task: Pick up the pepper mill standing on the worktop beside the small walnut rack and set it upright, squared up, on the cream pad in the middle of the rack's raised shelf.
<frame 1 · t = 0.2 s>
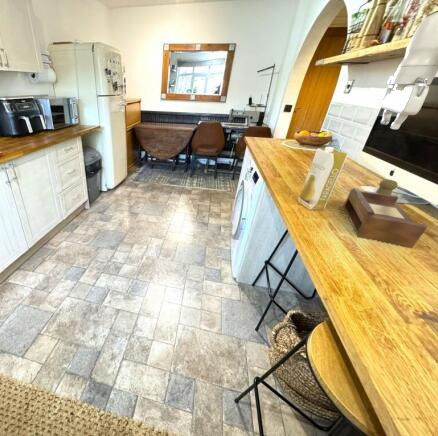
hand: (388, 126, 79), 32 cm above the counter, tool pointing down, fingers open, 8 cm apart
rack: (372, 224, 86), on the counter
juice carton: (310, 206, 99), on the counter
pepper mill: (376, 205, 100), on the counter
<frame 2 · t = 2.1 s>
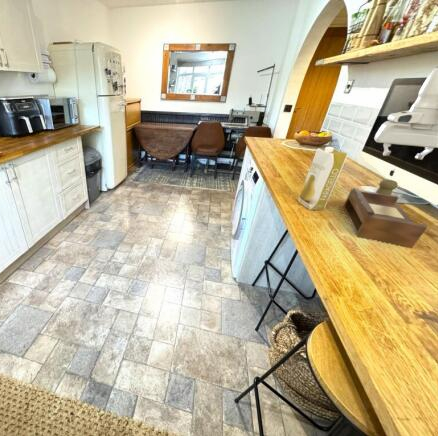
hand: (401, 157, 89), 20 cm above the counter, tool pointing down, fingers open, 8 cm apart
nothing on the counter moved.
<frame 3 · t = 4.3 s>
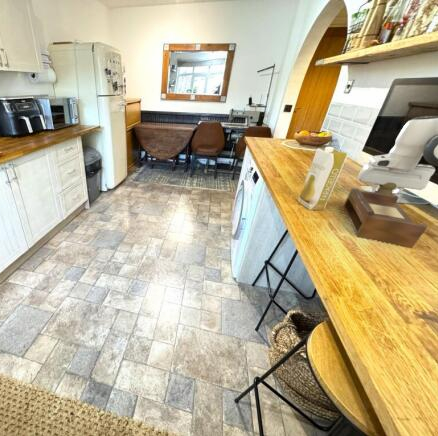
hand: (382, 195, 97), 5 cm above the counter, tool pointing down, fingers closed on pepper mill, 4 cm apart
pepper mill: (376, 205, 100), on the counter, touching gripper
everything else where it was.
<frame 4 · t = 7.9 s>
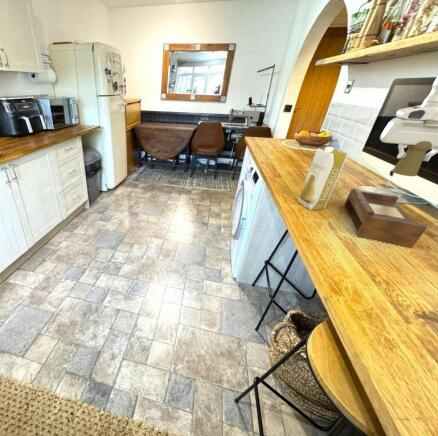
hand: (411, 159, 77), 23 cm above the counter, tool pointing down, fingers closed on pepper mill, 4 cm apart
pepper mill: (403, 173, 79), point 18 cm above the counter, touching gripper
everything else where it was.
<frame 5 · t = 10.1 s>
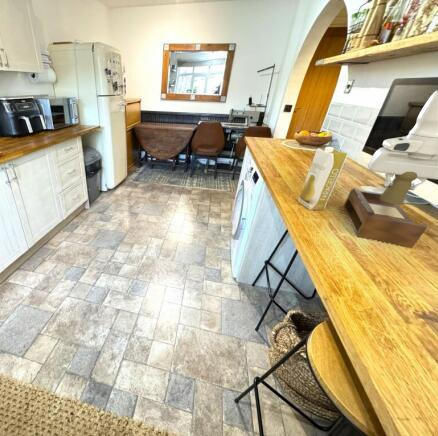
hand: (398, 187, 78), 15 cm above the counter, tool pointing down, fingers closed on pepper mill, 4 cm apart
pepper mill: (390, 200, 81), point 10 cm above the counter, touching gripper
everything else where it was.
when the fingers open (11 cm above the counter, at t = 11.5 s): pepper mill stays where it is, resting on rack.
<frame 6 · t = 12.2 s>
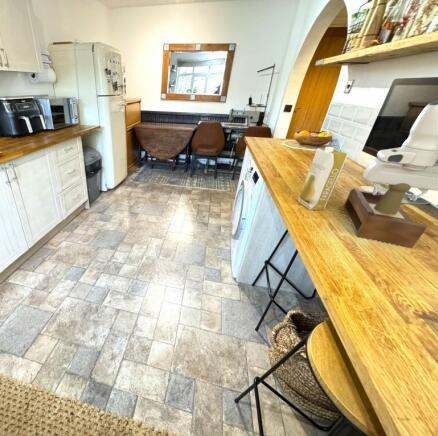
hand: (392, 197, 80), 11 cm above the counter, tool pointing down, fingers open, 8 cm apart
pepper mill: (384, 210, 83), point 6 cm above the counter, touching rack
everything else where it was.
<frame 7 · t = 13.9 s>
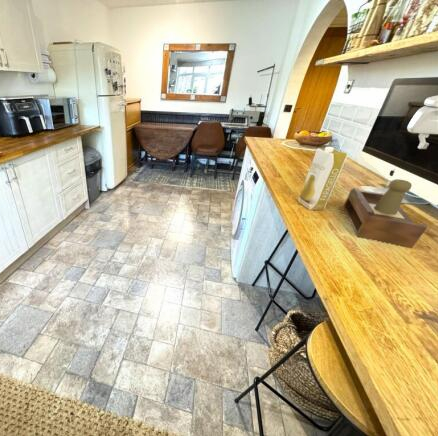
nothing on the counter moved.
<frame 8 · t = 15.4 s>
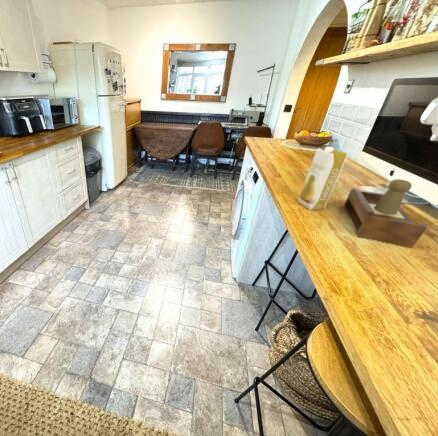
nothing on the counter moved.
at the end: pepper mill inside the target area on the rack (0.1 cm from its centre), point 6.0 cm above the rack's base; pepper mill tilted 0°; the gripper is holding nothing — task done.
